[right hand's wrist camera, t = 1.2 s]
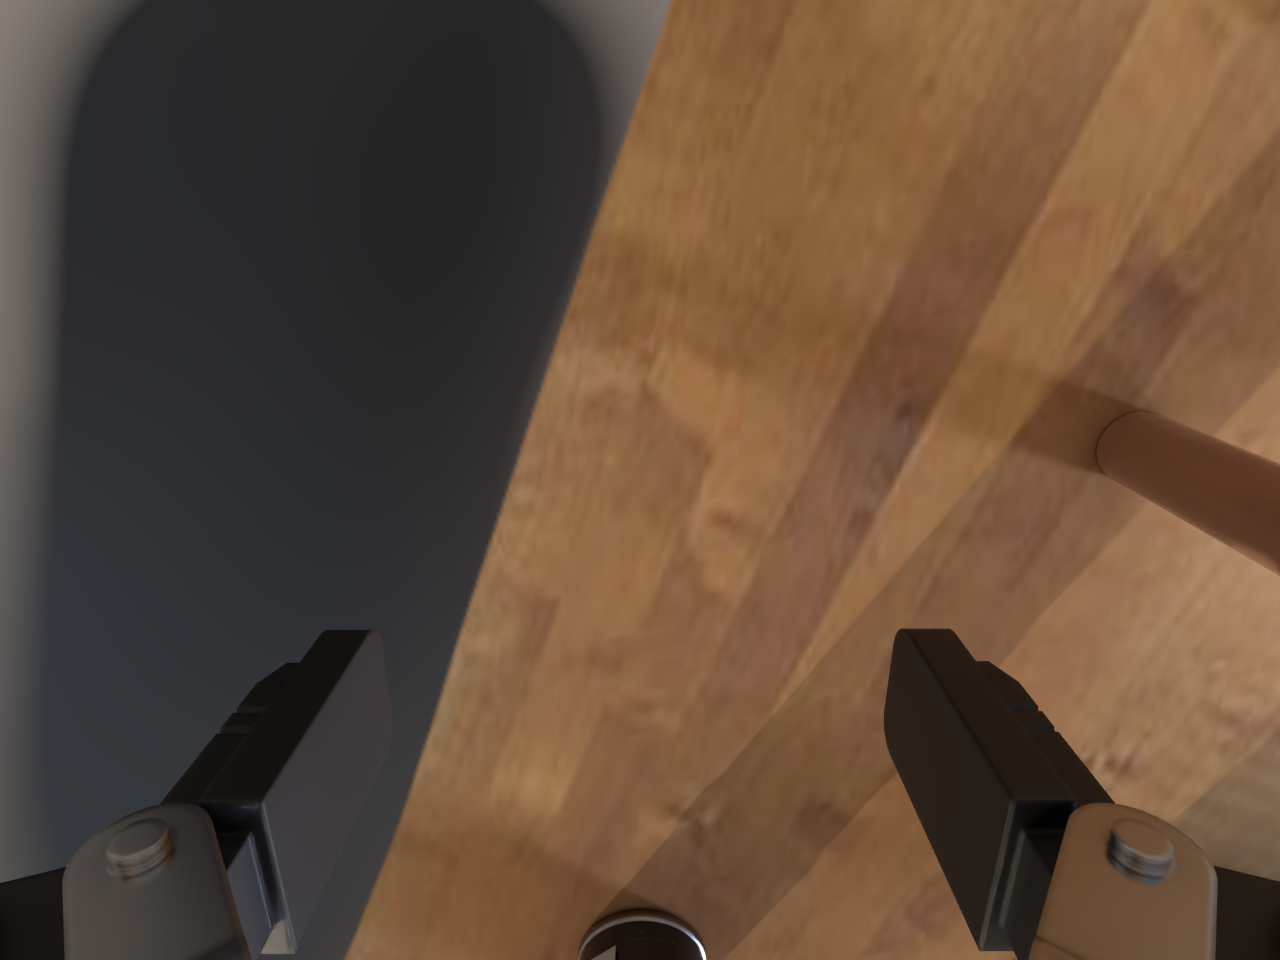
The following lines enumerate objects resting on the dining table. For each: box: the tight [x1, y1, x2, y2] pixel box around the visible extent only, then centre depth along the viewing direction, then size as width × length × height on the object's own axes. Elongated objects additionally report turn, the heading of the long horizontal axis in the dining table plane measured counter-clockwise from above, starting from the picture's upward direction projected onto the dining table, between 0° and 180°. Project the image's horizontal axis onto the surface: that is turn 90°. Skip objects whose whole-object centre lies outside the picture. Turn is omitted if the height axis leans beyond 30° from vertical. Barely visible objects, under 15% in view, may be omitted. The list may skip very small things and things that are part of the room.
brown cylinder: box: [1096, 411, 1280, 576], centre depth 32 cm, size 4×4×19 cm
